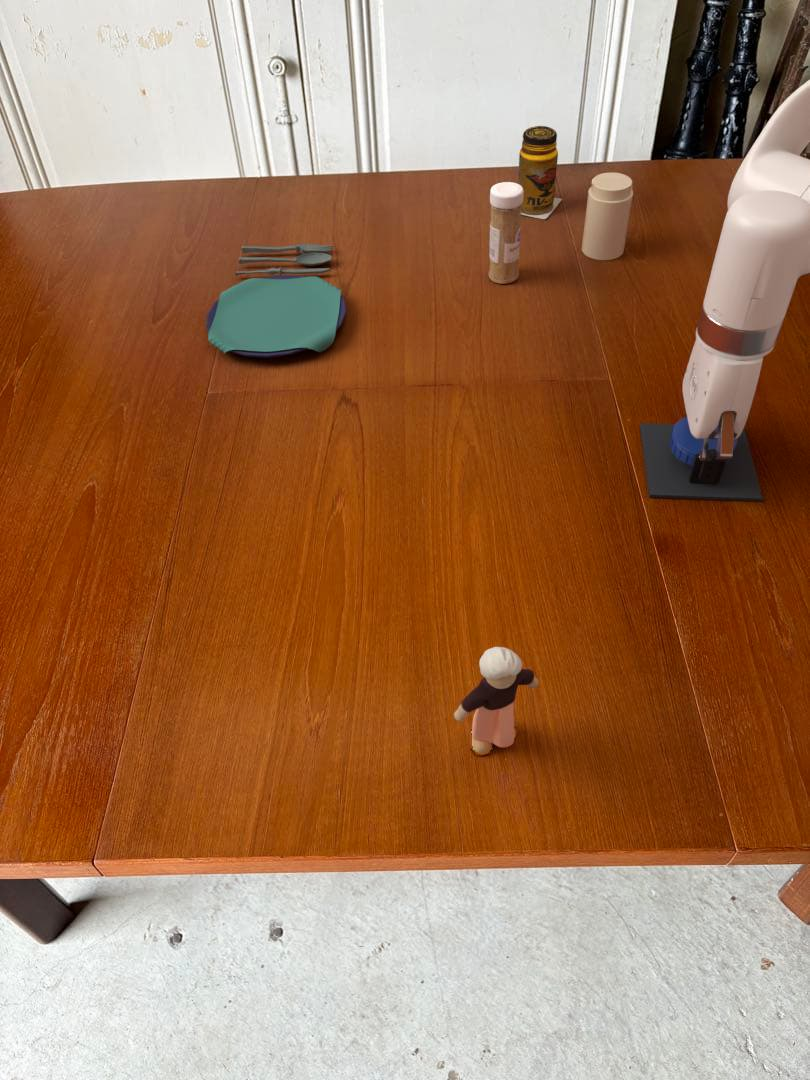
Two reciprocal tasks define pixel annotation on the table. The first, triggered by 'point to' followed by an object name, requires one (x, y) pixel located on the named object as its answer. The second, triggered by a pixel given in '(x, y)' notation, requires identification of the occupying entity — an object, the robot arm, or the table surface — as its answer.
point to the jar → (607, 216)
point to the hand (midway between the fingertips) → (698, 457)
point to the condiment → (538, 171)
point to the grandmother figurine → (495, 699)
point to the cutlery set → (278, 308)
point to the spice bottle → (505, 231)
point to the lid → (689, 442)
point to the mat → (673, 474)
